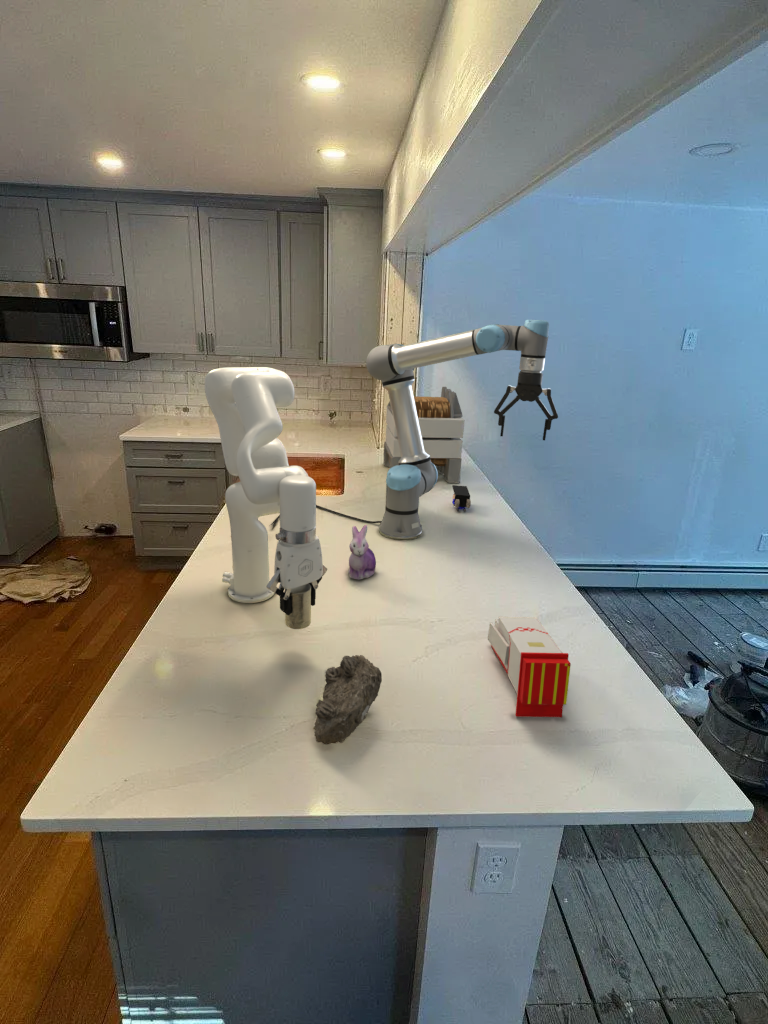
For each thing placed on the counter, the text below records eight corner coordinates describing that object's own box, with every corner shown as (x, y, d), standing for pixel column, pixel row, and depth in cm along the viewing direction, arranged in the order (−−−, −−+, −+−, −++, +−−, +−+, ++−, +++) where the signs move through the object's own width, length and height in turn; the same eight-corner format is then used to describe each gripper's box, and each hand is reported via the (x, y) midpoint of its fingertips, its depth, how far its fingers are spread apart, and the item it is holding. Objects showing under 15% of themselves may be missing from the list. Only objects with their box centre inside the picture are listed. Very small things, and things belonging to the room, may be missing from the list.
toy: (534, 602, 136) (579, 659, 107) (529, 653, 139) (572, 723, 110) (484, 601, 136) (516, 658, 107) (480, 652, 139) (510, 722, 109)
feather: (288, 507, 224) (291, 503, 223) (271, 531, 197) (274, 527, 197) (285, 505, 224) (287, 501, 223) (267, 528, 197) (269, 524, 197)
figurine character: (470, 516, 223) (465, 500, 237) (473, 499, 220) (467, 484, 233) (453, 516, 223) (449, 500, 236) (455, 498, 220) (451, 483, 233)
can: (315, 625, 127) (315, 589, 124) (292, 631, 124) (291, 595, 121) (303, 613, 132) (303, 578, 129) (281, 619, 129) (280, 584, 126)
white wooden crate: (382, 463, 289) (386, 382, 275) (445, 464, 293) (451, 384, 279) (390, 482, 257) (394, 392, 243) (460, 483, 261) (468, 394, 247)
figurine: (354, 583, 162) (355, 534, 157) (340, 569, 171) (341, 522, 166) (383, 577, 167) (385, 530, 161) (368, 563, 175) (369, 518, 170)
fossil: (318, 656, 121) (374, 625, 116) (346, 686, 123) (402, 656, 118) (294, 738, 101) (359, 705, 96) (328, 771, 104) (393, 740, 99)
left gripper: (272, 549, 112) (274, 628, 119) (340, 529, 123) (338, 602, 130) (252, 537, 117) (255, 613, 124) (319, 519, 129) (319, 590, 135)
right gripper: (490, 369, 178) (483, 436, 185) (572, 375, 173) (562, 443, 180) (492, 367, 185) (485, 431, 192) (571, 373, 180) (561, 438, 187)
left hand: (298, 607), depth 127 cm, fingers closed on can, 5 cm apart
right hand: (522, 437), depth 186 cm, fingers open, 13 cm apart
